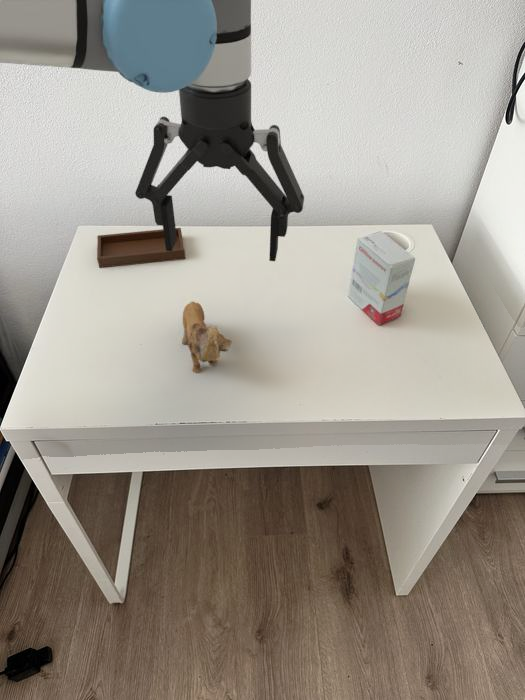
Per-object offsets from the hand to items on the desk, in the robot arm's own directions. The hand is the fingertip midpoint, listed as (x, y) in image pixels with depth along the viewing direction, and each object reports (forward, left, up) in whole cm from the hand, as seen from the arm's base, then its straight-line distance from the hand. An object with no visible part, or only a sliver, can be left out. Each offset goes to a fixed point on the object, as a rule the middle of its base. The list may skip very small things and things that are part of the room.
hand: (222, 250), depth 70 cm
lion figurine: (-4, -2, -17) cm, 18 cm away
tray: (-12, +26, -17) cm, 33 cm away
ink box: (+25, +4, -17) cm, 31 cm away
